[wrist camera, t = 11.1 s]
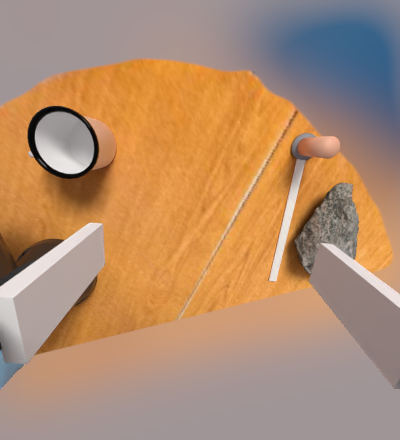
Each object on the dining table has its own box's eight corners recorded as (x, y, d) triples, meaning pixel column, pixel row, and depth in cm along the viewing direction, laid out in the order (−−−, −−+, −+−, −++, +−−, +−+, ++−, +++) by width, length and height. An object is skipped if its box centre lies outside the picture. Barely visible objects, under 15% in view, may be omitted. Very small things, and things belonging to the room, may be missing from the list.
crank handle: (262, 279, 48) (273, 305, 40) (294, 132, 38) (318, 129, 30) (282, 281, 48) (297, 307, 40) (319, 134, 38) (349, 132, 30)
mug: (109, 108, 37) (81, 97, 28) (127, 165, 40) (107, 171, 31) (42, 125, 37) (-5, 119, 29) (65, 179, 40) (29, 189, 32)
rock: (360, 266, 44) (352, 296, 37) (308, 258, 50) (294, 282, 43) (363, 176, 38) (354, 192, 31) (304, 179, 45) (286, 193, 38)
